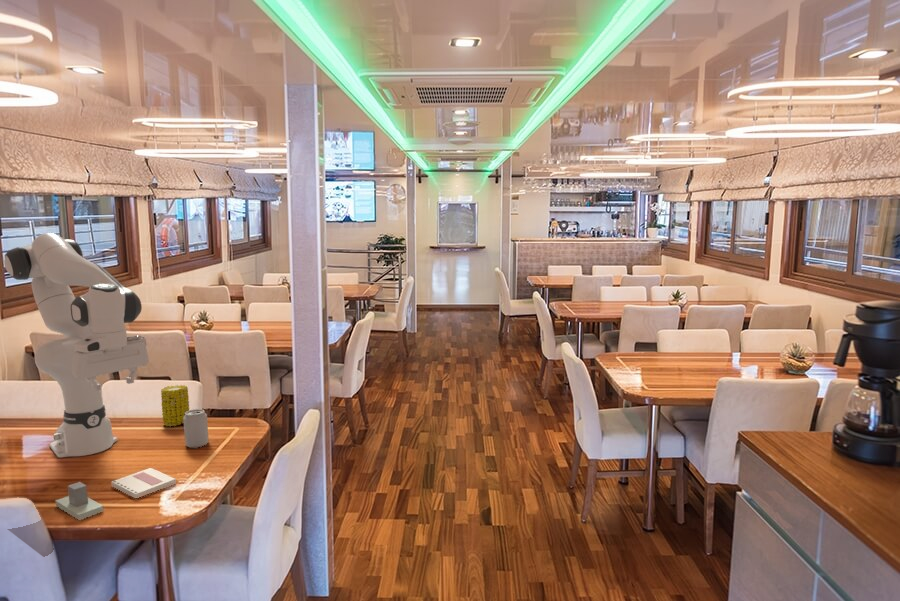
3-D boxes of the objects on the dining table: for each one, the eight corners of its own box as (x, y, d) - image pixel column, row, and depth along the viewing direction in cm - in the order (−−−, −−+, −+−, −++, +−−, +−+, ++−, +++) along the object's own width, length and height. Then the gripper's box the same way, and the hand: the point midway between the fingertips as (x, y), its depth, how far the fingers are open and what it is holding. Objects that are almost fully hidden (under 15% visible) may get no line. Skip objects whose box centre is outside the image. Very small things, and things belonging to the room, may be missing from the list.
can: (212, 441, 211) (210, 408, 210) (202, 449, 204) (199, 415, 202) (192, 440, 212) (190, 407, 210) (181, 448, 205) (178, 414, 203)
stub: (56, 506, 165) (53, 483, 164) (79, 497, 170) (77, 475, 169) (79, 520, 157) (76, 496, 156) (103, 511, 162) (101, 488, 161)
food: (162, 432, 225) (168, 424, 235) (195, 423, 227) (199, 415, 237) (149, 394, 223) (156, 388, 232) (182, 384, 225) (188, 379, 235)
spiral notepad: (111, 486, 177) (111, 481, 176) (151, 472, 186) (150, 467, 186) (136, 499, 169) (135, 493, 168) (175, 484, 178) (175, 478, 178)
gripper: (140, 333, 184) (143, 377, 186) (66, 345, 168) (71, 393, 170) (150, 335, 181) (154, 380, 183) (76, 348, 164) (81, 397, 166)
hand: (114, 386), depth 176 cm, fingers open, 8 cm apart
